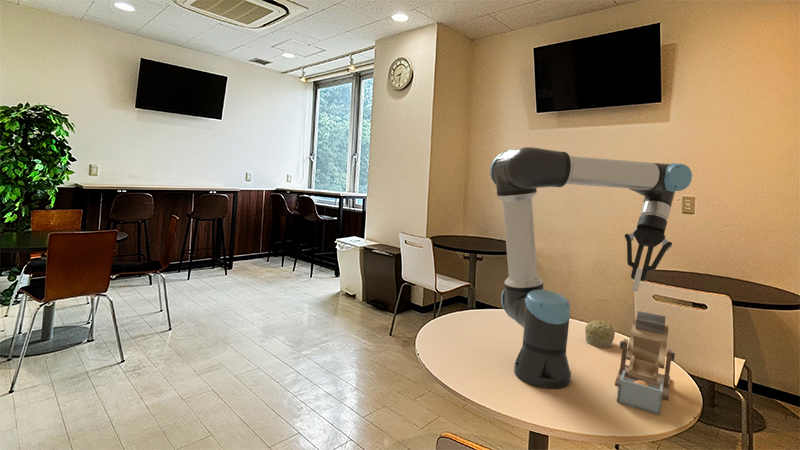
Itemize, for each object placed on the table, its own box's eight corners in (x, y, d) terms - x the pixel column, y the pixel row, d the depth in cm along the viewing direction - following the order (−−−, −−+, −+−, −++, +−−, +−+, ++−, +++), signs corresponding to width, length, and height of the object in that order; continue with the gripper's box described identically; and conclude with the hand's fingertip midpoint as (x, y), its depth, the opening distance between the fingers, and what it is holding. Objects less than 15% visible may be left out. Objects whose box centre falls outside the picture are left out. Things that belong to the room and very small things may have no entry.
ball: (647, 382, 106) (645, 398, 105) (630, 377, 107) (628, 393, 106) (653, 383, 102) (651, 399, 101) (636, 378, 103) (634, 394, 102)
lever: (633, 321, 124) (635, 297, 120) (668, 328, 119) (671, 303, 115) (622, 373, 108) (624, 348, 104) (662, 384, 103) (665, 358, 99)
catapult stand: (620, 365, 123) (623, 332, 122) (670, 379, 116) (675, 344, 114) (613, 384, 111) (617, 348, 109) (670, 401, 103) (674, 362, 102)
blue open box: (621, 387, 109) (623, 366, 108) (661, 399, 104) (663, 377, 103) (616, 401, 102) (619, 379, 101) (659, 415, 96) (662, 391, 96)
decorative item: (605, 359, 137) (626, 338, 135) (582, 339, 137) (603, 318, 136) (597, 348, 146) (617, 329, 144) (575, 330, 147) (595, 310, 145)
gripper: (677, 226, 124) (659, 298, 121) (630, 218, 132) (612, 286, 128) (679, 217, 118) (660, 294, 115) (629, 210, 126) (610, 281, 122)
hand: (634, 289), depth 121 cm, fingers closed
